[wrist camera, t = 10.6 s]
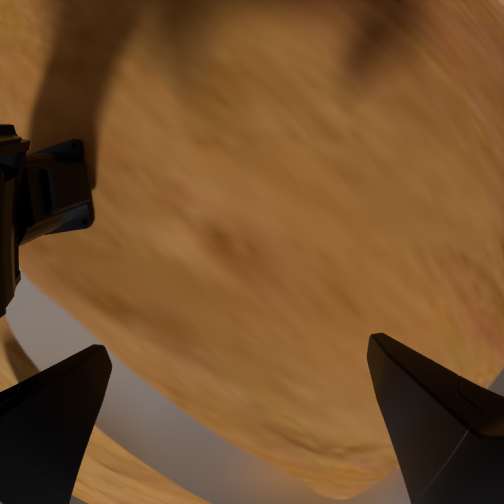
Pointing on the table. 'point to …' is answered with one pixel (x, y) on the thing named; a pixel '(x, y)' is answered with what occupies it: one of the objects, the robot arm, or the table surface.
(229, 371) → the table surface
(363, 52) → the table surface
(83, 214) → the robot arm
